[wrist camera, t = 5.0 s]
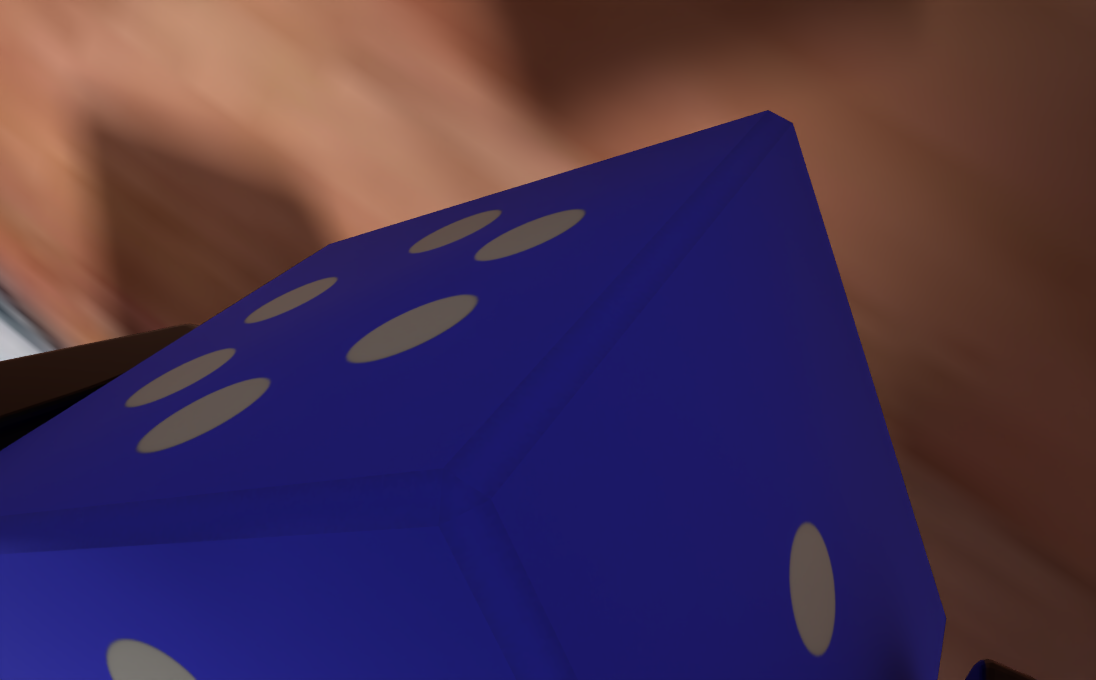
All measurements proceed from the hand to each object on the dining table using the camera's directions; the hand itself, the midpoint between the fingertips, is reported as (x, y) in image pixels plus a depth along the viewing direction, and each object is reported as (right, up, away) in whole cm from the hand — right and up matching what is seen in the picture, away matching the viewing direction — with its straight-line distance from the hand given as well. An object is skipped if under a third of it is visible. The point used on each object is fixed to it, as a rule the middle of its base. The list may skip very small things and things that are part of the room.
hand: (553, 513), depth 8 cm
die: (+1, +1, +1) cm, 2 cm away
